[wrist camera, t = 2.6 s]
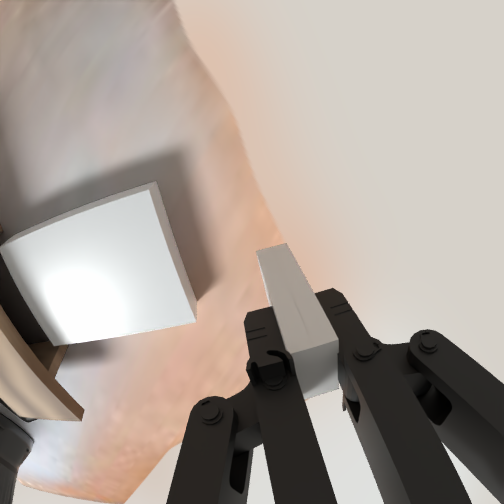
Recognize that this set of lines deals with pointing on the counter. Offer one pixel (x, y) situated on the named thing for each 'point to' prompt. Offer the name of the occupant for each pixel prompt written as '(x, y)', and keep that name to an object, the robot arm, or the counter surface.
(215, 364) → the counter surface
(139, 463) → the counter surface
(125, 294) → the plastic case
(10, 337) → the low shelf
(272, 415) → the robot arm
